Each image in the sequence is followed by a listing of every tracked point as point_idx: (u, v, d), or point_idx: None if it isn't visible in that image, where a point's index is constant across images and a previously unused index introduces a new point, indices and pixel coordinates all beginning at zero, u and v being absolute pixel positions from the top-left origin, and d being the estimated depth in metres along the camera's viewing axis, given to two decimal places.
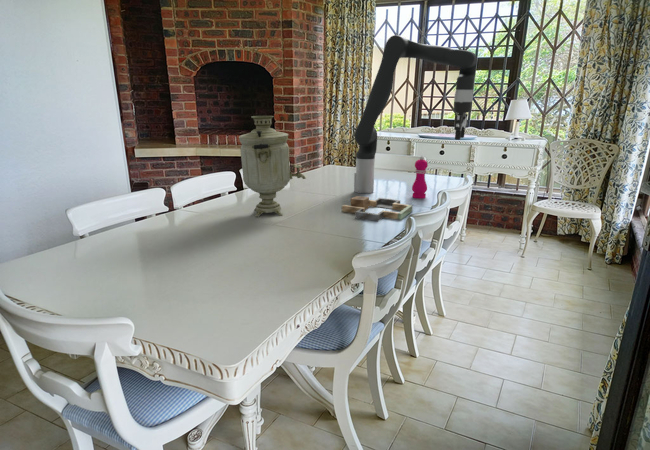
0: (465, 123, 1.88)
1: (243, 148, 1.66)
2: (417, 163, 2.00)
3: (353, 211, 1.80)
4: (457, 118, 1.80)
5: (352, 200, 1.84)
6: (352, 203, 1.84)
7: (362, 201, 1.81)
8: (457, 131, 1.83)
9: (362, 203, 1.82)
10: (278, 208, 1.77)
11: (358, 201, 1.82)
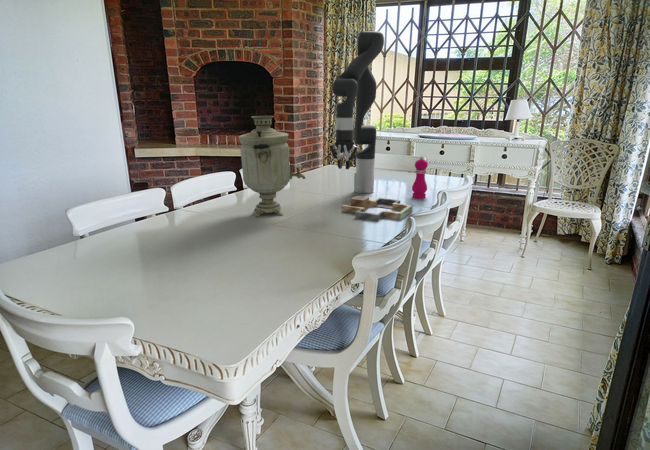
0: None
1: (243, 148, 1.66)
2: (417, 163, 2.00)
3: (353, 211, 1.80)
4: (356, 150, 1.79)
5: (352, 200, 1.84)
6: (352, 203, 1.84)
7: (362, 201, 1.81)
8: (349, 161, 1.82)
9: (362, 203, 1.82)
10: (278, 208, 1.77)
11: (358, 201, 1.82)
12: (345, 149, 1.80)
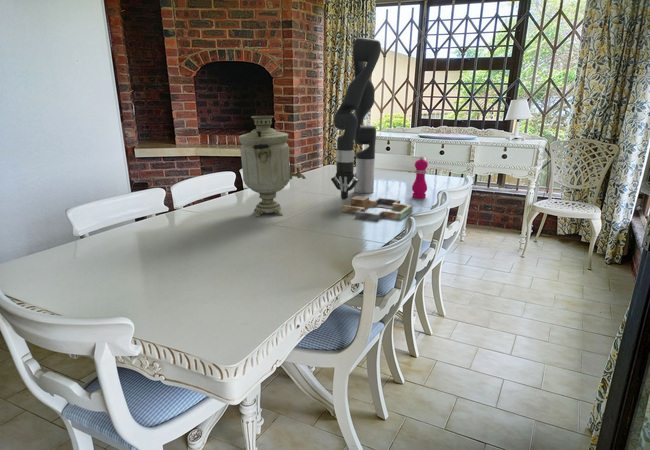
0: None
1: (243, 148, 1.66)
2: (417, 163, 2.00)
3: (353, 211, 1.80)
4: (356, 183, 1.83)
5: (352, 200, 1.84)
6: (352, 203, 1.84)
7: (362, 201, 1.81)
8: (347, 191, 1.87)
9: (362, 203, 1.82)
10: (278, 208, 1.77)
11: (358, 201, 1.82)
12: (345, 180, 1.84)
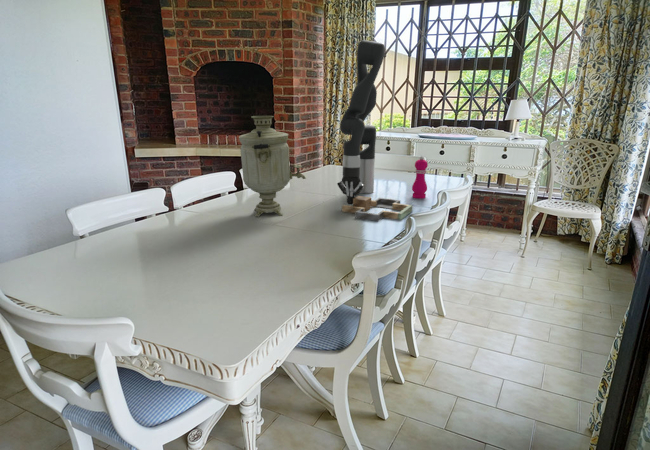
0: None
1: (243, 148, 1.66)
2: (417, 163, 2.00)
3: (353, 211, 1.80)
4: (362, 188, 1.83)
5: (354, 200, 1.83)
6: (354, 203, 1.84)
7: (364, 201, 1.81)
8: (353, 196, 1.86)
9: (364, 203, 1.81)
10: (278, 208, 1.77)
11: (360, 201, 1.82)
12: (351, 185, 1.83)
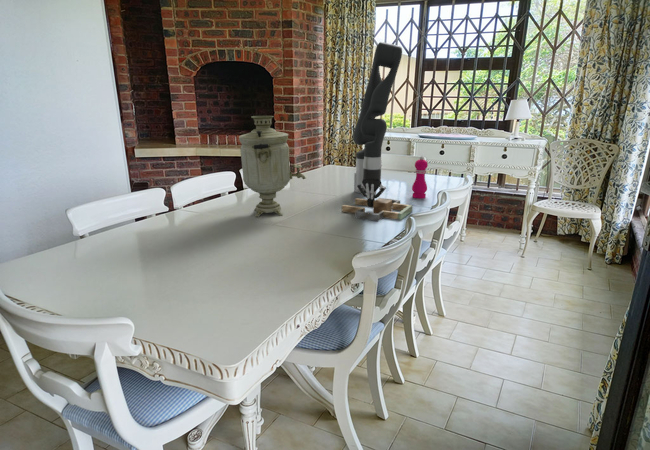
0: None
1: (243, 148, 1.66)
2: (417, 163, 2.00)
3: (353, 211, 1.80)
4: (383, 190, 1.78)
5: (375, 203, 1.79)
6: (375, 206, 1.79)
7: (385, 204, 1.76)
8: (374, 199, 1.81)
9: (385, 206, 1.77)
10: (278, 208, 1.77)
11: (381, 204, 1.77)
12: (372, 188, 1.79)
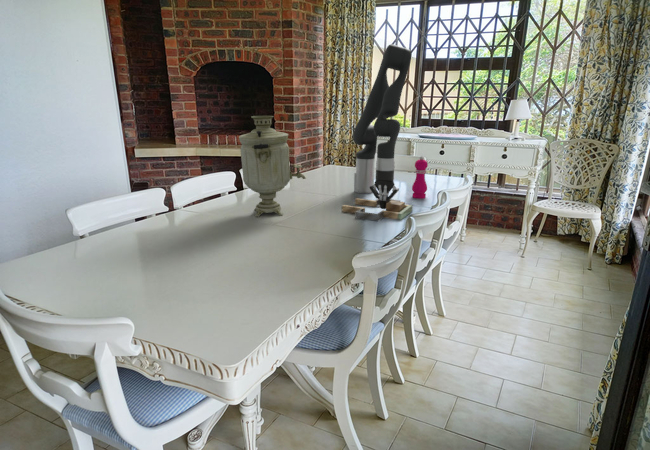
0: None
1: (243, 148, 1.66)
2: (417, 163, 2.00)
3: (353, 211, 1.80)
4: (396, 192, 1.76)
5: (387, 205, 1.76)
6: (387, 208, 1.76)
7: (398, 206, 1.74)
8: (386, 200, 1.79)
9: (398, 208, 1.74)
10: (278, 208, 1.77)
11: (394, 206, 1.75)
12: (385, 189, 1.76)
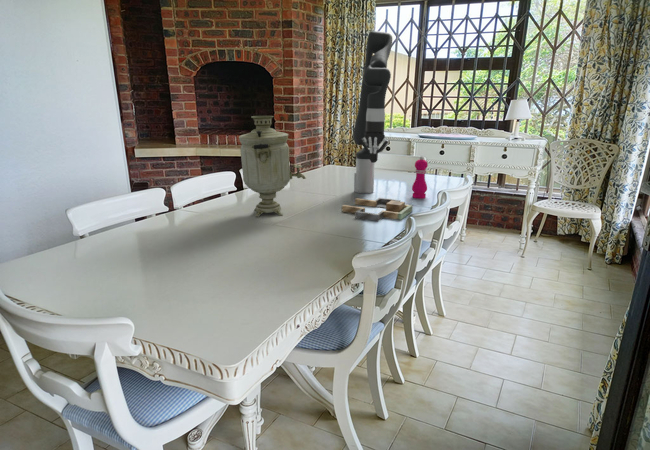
0: None
1: (243, 148, 1.66)
2: (417, 163, 2.00)
3: (353, 211, 1.80)
4: (386, 144, 1.72)
5: (388, 205, 1.76)
6: (387, 208, 1.76)
7: (398, 206, 1.74)
8: (377, 154, 1.76)
9: (398, 208, 1.74)
10: (278, 208, 1.77)
11: (394, 206, 1.75)
12: (375, 141, 1.73)
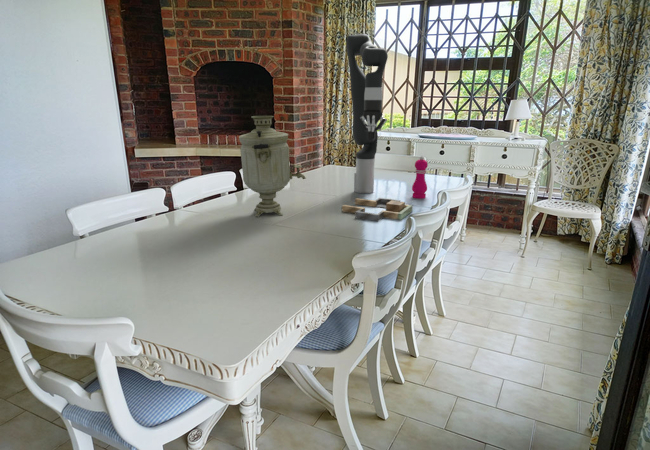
0: None
1: (243, 148, 1.66)
2: (417, 163, 2.00)
3: (353, 211, 1.80)
4: (384, 122, 1.79)
5: (388, 205, 1.76)
6: (387, 208, 1.76)
7: (398, 206, 1.74)
8: (375, 132, 1.83)
9: (398, 208, 1.74)
10: (278, 208, 1.77)
11: (394, 206, 1.75)
12: (373, 119, 1.80)
